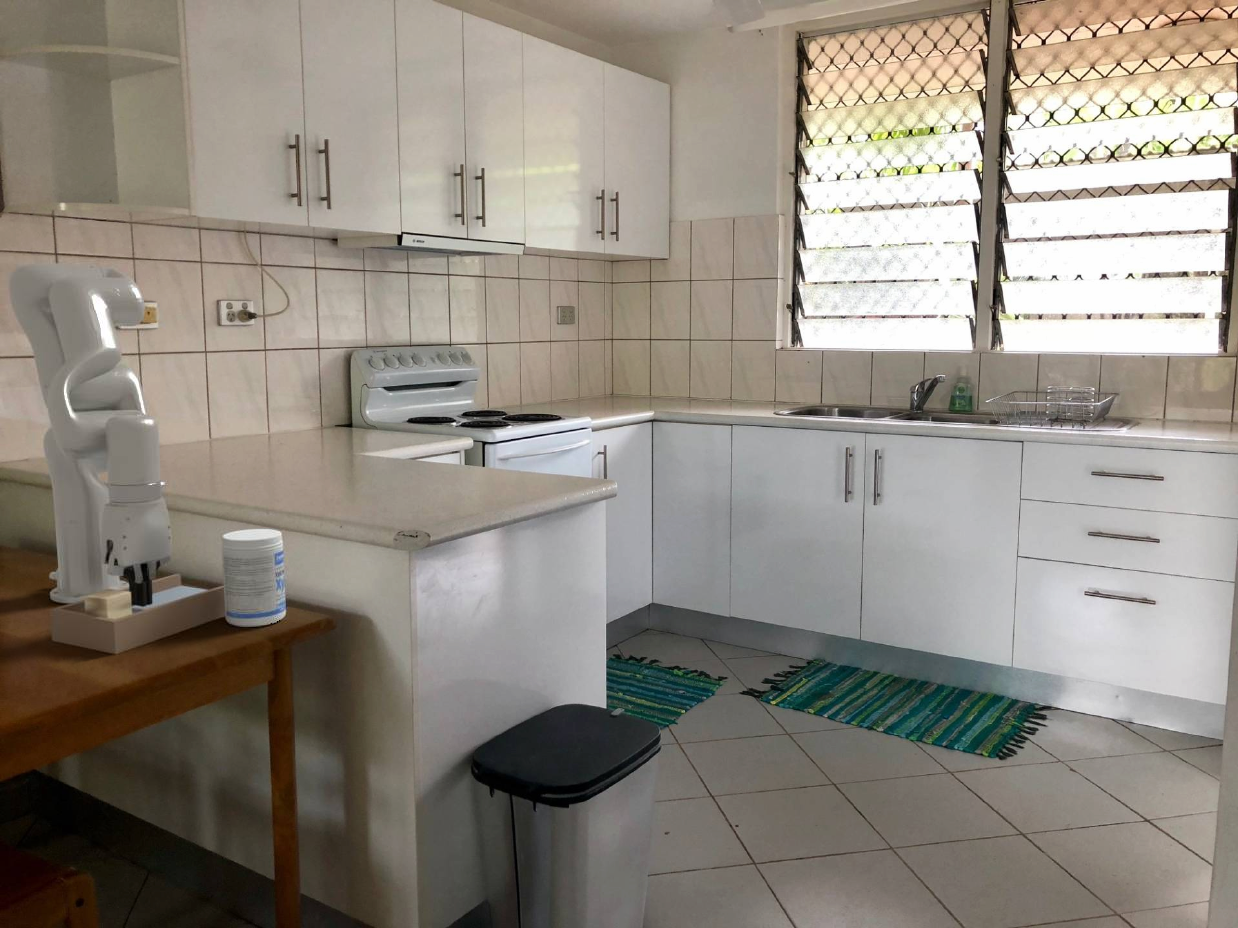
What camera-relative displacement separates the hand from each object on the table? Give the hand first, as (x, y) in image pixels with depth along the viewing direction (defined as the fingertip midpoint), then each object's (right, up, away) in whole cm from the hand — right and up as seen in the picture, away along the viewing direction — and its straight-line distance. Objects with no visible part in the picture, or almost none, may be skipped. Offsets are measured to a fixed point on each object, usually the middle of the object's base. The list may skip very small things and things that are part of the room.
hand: (141, 604), depth 157 cm
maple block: (-2, -2, -7) cm, 7 cm away
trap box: (+1, -4, +1) cm, 4 cm away
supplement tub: (+16, -4, +5) cm, 18 cm away
